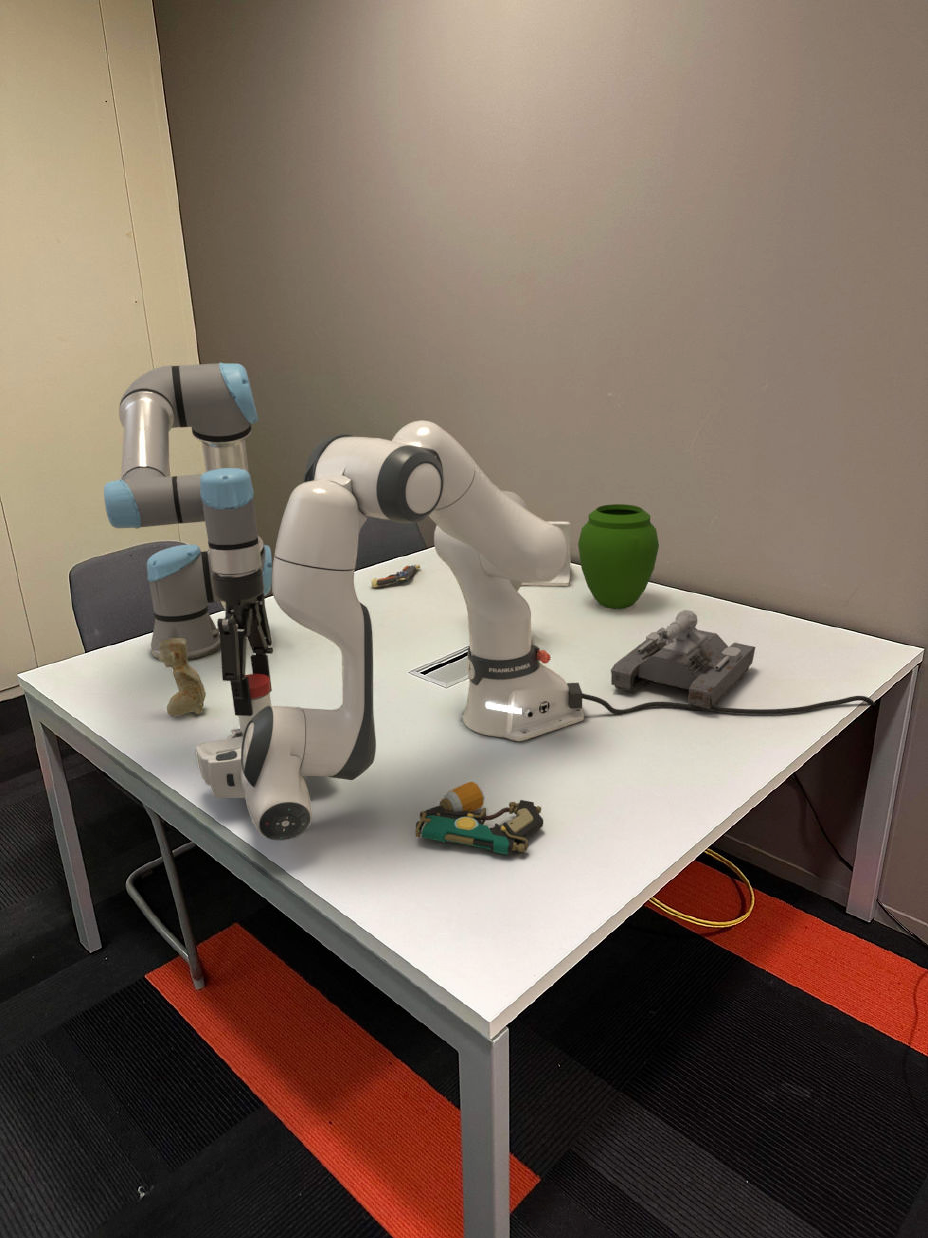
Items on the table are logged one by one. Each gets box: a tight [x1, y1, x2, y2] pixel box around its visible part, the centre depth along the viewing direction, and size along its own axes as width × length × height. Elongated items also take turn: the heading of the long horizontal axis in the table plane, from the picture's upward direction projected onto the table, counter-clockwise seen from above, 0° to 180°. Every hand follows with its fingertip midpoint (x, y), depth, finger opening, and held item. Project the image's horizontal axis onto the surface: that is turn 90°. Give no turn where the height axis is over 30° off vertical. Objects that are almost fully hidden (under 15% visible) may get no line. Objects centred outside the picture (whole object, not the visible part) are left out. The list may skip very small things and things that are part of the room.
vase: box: [577, 503, 660, 610], centre depth 210 cm, size 20×20×24 cm
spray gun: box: [415, 781, 544, 856], centre depth 124 cm, size 4×17×15 cm
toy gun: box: [370, 564, 421, 588], centre depth 239 cm, size 3×19×10 cm
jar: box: [237, 692, 272, 736], centre depth 142 cm, size 5×5×15 cm
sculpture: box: [158, 638, 207, 717], centre depth 162 cm, size 6×7×15 cm
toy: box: [610, 609, 756, 710], centre depth 169 cm, size 25×20×15 cm
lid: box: [245, 673, 272, 699], centre depth 139 cm, size 6×6×2 cm
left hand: (253, 702), depth 140 cm, fingers open, 8 cm apart
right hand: (256, 729), depth 143 cm, fingers closed on jar, 5 cm apart
